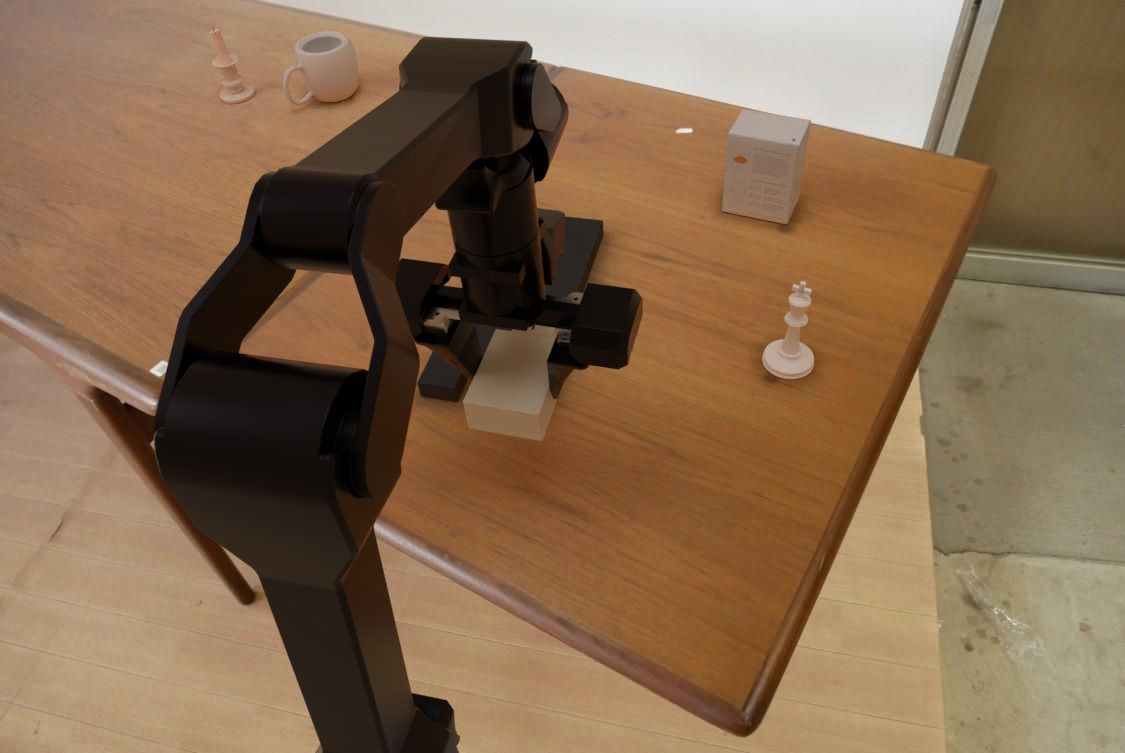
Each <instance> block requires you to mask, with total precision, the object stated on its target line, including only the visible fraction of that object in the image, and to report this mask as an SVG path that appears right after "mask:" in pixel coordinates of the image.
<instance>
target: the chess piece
mask: <svg viewBox="0 0 1125 753" xmlns="http://www.w3.org/2000/svg"><path fill="white" fill-rule="evenodd" d="M791 291H792V293H791V294H790V295H789V296H788V299H787V300H788V301H787V302H788V305H789V309H790V310H789V311H787V312H786V314H785V315H784V317H783V320H784V322H785V323H786V325H787V326H788V328H787V331H786V333H785V336H784V337H783V338H780V339H776V340H774V341H772V342H770V343H768V345H766V347H765V348H764V350H763V353H762V356H761V360H762V361H761V362H762V364H763V367H764V369H766V371H768V372H769V373H770V374H771V375H772V376H775V377H777V378H781V379H784V380H797V379H802V378H804V377H806V376H808V375H809V374H810V373H811V372H812V371H813V369H814V366H815V356H814V353H813V351H812V349H811V348H810V347H809V346H807V345H806V344H805V343H804V342H801V340H800V339H801V338H800V337H801V328H803V327H805V326H806V325H808V322H809V318H808V315H807V314H806V311H807V310H808V309H809V308H810V306H811V304H812V298H811V297H810V296H811V295H812V291H813V289H812V288H809V287H807V281H804V280H801V281H800V282H799V284H795V283H793V285H792V286H791Z"/></svg>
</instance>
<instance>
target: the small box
mask: <svg viewBox="0 0 1125 753" xmlns="http://www.w3.org/2000/svg"><path fill="white" fill-rule="evenodd" d="M811 124H812V121H811V119H806V118H800V117H794V116H787V115H781V114H776V113H768V112H763V111H757V110H751V109H744V108H743V109H742V110H741V111H740V113H739V114H738V116H737V118H736V119H735V121H734V123H733V124H732V126H731V128H730V129H729V131H728V132H727V137H726V138H727V139H726V151H725V152H726V153H725V162H724V175H723V187H722V188H723V189H722V200H721V212H724V213H728V214H734V215H737V216H738V215H739V216H743V217H747V218H753V219H758V220H762V221H768V222H772V223H777V224H781V225H788V224H789V222H790V220H791V217H792V216H793V213H794V210H795V208H796V206H797V204H798V201H799V199H800V195H801V189H802V183H803V177H804V169H805V163H806V158H807V151H808V145H809V138H810V133H811V132H810V131H811Z"/></svg>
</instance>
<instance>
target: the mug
mask: <svg viewBox="0 0 1125 753" xmlns="http://www.w3.org/2000/svg"><path fill="white" fill-rule="evenodd" d="M293 53H294V60H295V65H291V66H290V67H289V68H288V69H286V70H285V73H284V75H283V80H282V88H283V93H284V95H285V97H286V99H287V101H289V102H290V103H291V104H292V105H295V106H303V105H305V104H307V103H309V101H310V100H311V99H312V98H315V99H317V100H318V101H320V102H323V103H336V102H340V101H344V100H346V99H348V98H350V97H352V96H353V94H354V93H355V92H356V90H357V88H358V85H359V75H360V72H359V71H360V70H359V63H358V59H357V54H356V51H355V48H354V44H353V42H352V41H351V40H350V38H349V37H348V35H346V33H344V32H341V31H335V30H324V31H318V32H313V33H310V34H308V35H306V36H304V37H302V38H300V39H299V40H298V41H297V42H296V43H295V46H294V51H293ZM296 71H298V75H299V77H300V79H301V81H302V83H303V85H304V86H305V88H306V90H307V91H308V92H307V94H306V95H305V96H304V97H303V98H301V99H296V98H294V97H293V96H292V94H291V92H290V88H289V81H290V77H291V75H292V74H293V73H294V72H296Z"/></svg>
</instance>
